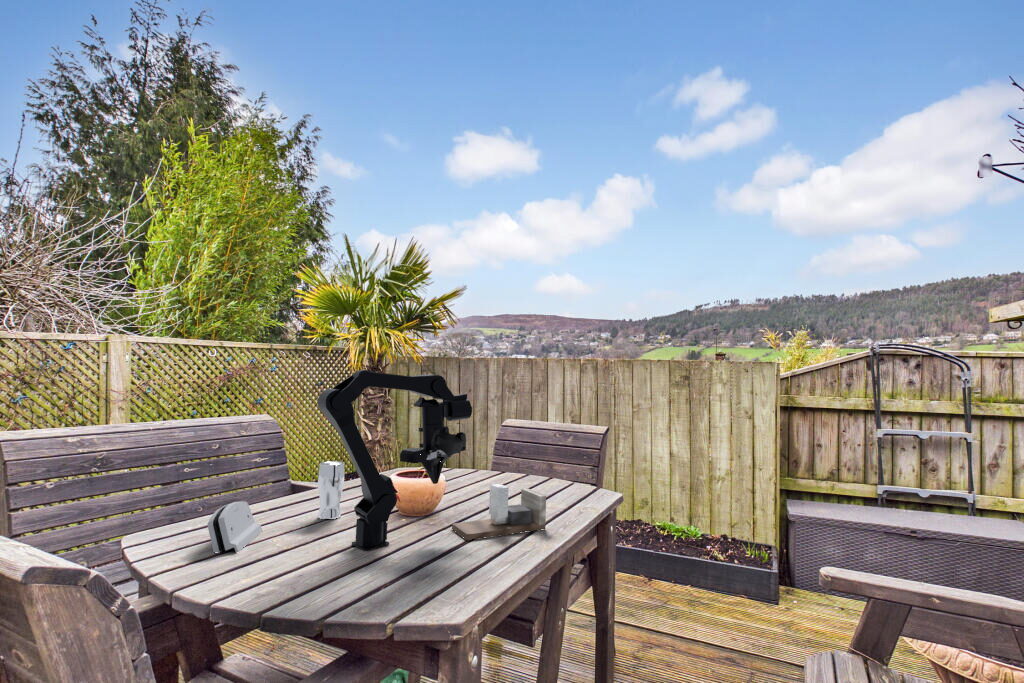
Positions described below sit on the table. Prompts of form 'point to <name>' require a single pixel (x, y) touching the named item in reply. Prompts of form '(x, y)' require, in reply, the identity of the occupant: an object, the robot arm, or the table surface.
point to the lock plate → (510, 519)
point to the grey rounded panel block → (232, 527)
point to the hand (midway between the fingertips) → (435, 483)
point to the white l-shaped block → (498, 504)
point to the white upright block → (330, 489)
